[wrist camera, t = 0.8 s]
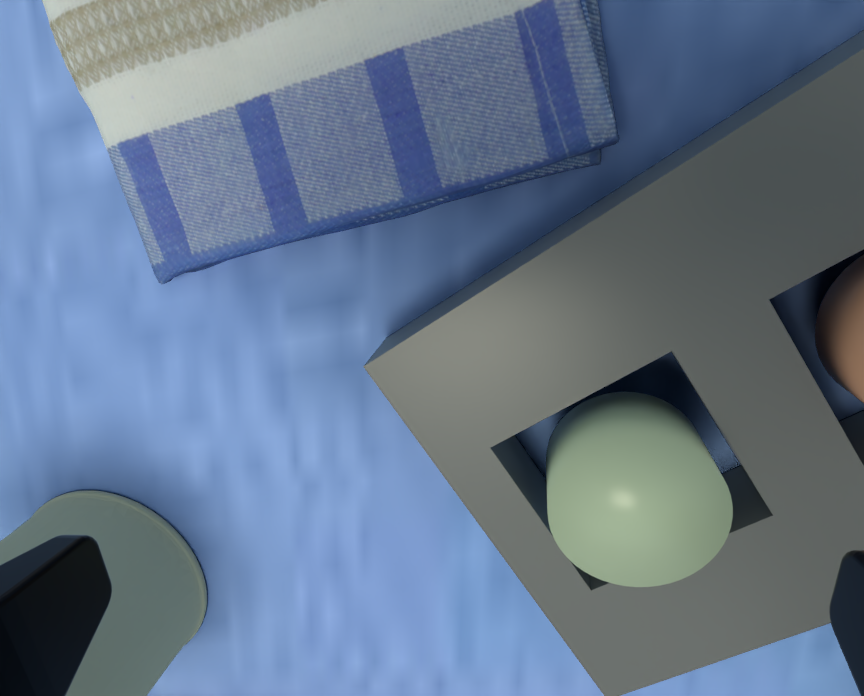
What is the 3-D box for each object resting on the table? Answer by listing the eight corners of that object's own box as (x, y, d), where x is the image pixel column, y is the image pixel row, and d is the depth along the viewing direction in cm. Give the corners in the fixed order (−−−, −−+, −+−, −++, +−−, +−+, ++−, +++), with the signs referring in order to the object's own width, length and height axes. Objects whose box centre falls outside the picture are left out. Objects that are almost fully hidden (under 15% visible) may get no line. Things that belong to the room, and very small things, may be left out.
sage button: (732, 487, 19) (766, 545, 16) (594, 547, 21) (603, 610, 18) (655, 363, 18) (676, 402, 15) (517, 436, 20) (514, 484, 17)
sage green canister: (48, 637, 30) (-248, 934, 18) (9, 478, 27) (-373, 717, 15) (218, 665, 28) (8, 1005, 17) (196, 501, 25) (-75, 781, 14)
